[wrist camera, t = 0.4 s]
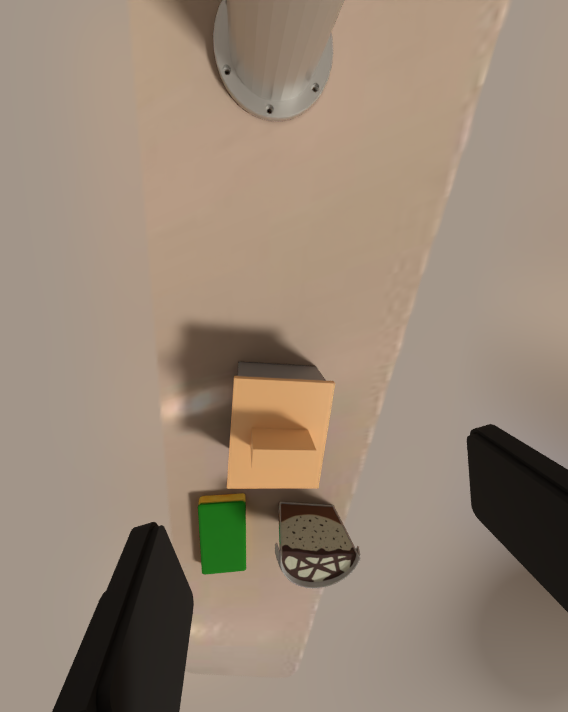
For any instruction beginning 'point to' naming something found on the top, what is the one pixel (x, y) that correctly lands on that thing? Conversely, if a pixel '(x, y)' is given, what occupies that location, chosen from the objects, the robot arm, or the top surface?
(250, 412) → the lid
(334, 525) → the food container
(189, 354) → the top surface
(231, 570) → the dish sponge
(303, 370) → the tub
